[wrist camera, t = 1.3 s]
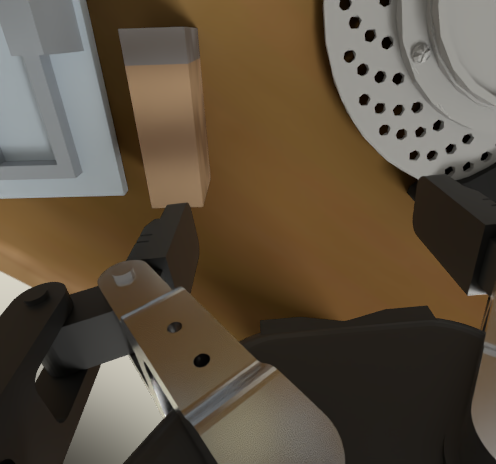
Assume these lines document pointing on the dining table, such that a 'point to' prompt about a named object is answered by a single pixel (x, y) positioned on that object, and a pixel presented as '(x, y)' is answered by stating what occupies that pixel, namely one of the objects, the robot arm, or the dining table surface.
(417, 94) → the brake disc
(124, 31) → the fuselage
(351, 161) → the dining table surface
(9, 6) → the jig
